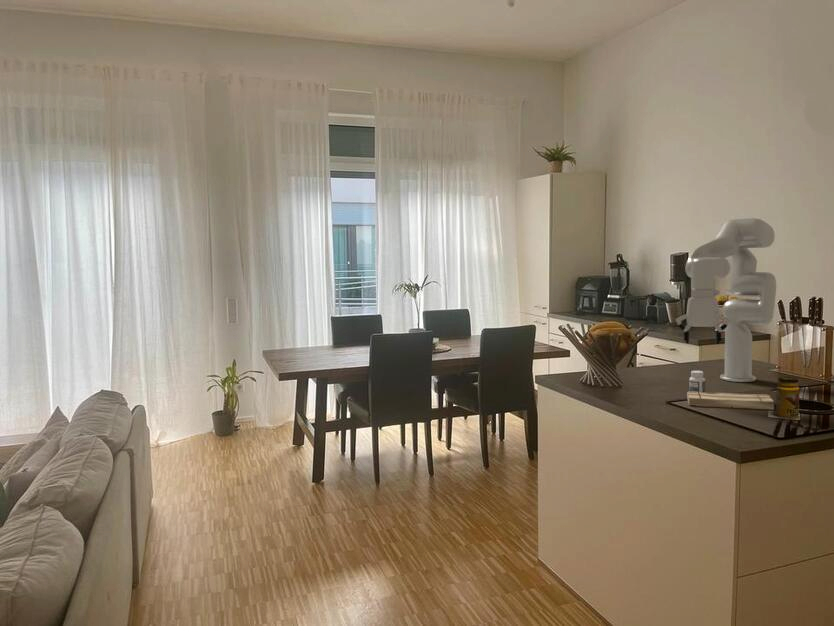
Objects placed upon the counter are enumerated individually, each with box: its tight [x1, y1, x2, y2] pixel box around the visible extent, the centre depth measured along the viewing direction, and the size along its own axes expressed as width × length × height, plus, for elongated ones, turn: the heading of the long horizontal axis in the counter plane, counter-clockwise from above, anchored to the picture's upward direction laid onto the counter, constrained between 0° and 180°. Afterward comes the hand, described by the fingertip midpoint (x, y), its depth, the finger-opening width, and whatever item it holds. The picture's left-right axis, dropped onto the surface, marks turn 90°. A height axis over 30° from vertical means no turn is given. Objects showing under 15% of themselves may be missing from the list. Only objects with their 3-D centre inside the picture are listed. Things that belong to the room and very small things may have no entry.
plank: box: [686, 391, 775, 411], centre depth 211 cm, size 10×25×3 cm, turn 70°
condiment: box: [767, 376, 801, 421], centre depth 194 cm, size 7×8×12 cm
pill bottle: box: [688, 370, 707, 392], centre depth 222 cm, size 5×5×9 cm
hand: (702, 343), depth 219 cm, fingers open, 9 cm apart
